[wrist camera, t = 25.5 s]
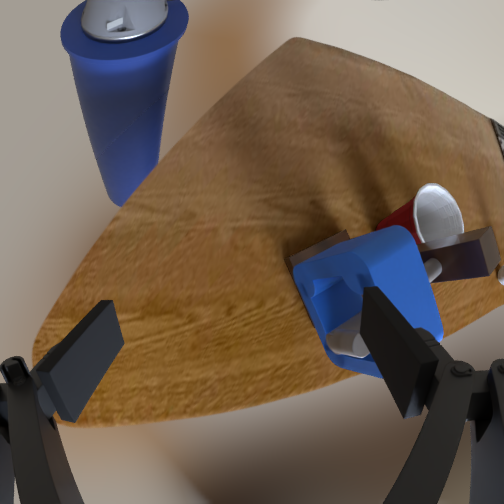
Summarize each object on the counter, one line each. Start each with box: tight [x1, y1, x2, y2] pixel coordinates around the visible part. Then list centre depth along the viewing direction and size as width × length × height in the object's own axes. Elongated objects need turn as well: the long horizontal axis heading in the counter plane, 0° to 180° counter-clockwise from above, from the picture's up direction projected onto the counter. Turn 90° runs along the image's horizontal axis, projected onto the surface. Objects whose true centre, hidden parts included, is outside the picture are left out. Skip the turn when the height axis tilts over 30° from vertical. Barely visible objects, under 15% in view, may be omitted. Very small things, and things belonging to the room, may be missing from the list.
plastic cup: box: [376, 183, 464, 244], centre depth 41 cm, size 11×11×12 cm
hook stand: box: [284, 226, 501, 358], centre depth 28 cm, size 19×10×25 cm, turn 115°
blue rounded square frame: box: [293, 225, 443, 379], centre depth 23 cm, size 5×10×10 cm, turn 25°
